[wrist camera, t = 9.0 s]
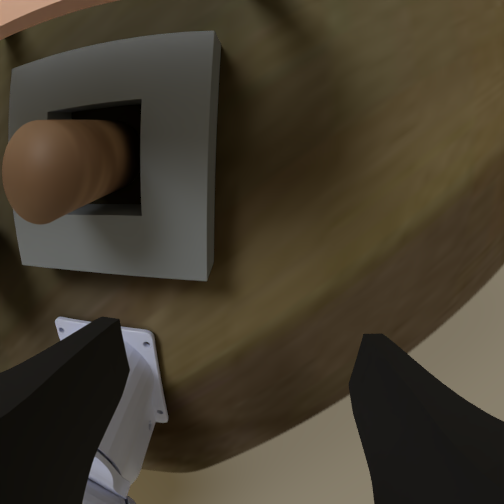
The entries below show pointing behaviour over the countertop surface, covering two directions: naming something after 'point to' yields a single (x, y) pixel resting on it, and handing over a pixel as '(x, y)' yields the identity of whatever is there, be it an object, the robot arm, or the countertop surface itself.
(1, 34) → the orange bridge
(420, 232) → the countertop surface
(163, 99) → the socket
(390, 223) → the countertop surface
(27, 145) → the peg
